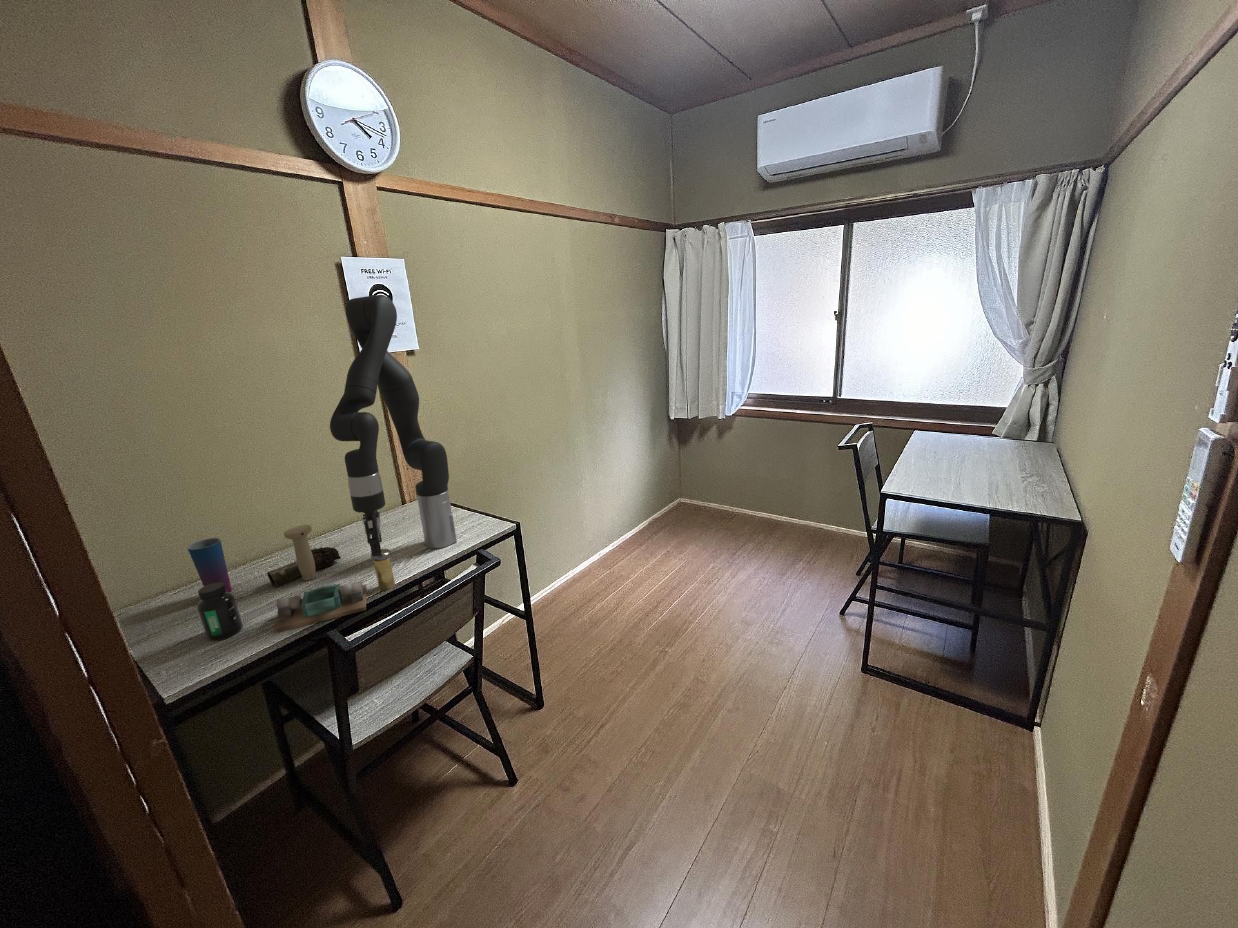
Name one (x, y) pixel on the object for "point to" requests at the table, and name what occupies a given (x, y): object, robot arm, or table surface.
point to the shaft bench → (321, 605)
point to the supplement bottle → (218, 612)
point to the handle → (302, 550)
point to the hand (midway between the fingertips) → (377, 548)
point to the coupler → (384, 570)
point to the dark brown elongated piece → (291, 571)
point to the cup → (210, 561)
